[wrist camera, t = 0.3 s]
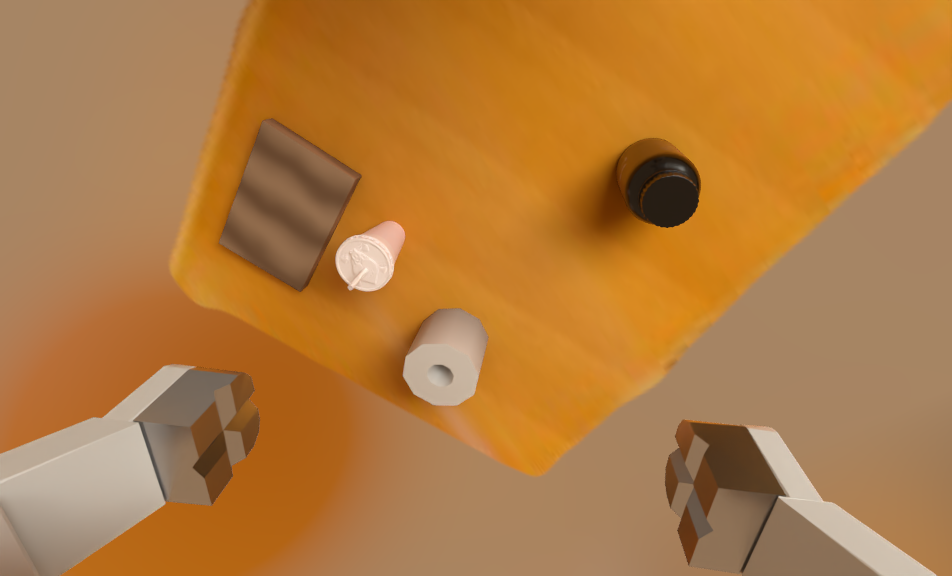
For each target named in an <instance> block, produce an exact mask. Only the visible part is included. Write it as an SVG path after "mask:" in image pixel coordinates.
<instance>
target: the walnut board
mask: <svg viewBox="0 0 952 576" xmlns="http://www.w3.org/2000/svg"><path fill="white" fill-rule="evenodd" d="M361 176H362V175H360V174H358V173H357V172H355V171H354V170H352V169H351V168H349V167H348V166H346V165H344V164H343V163H341V162H340V161H338V160H337V159H335V158H333V157H332V156H330V155H329V154H327V153H326V152H324V151H322V150H321V149H319V148H318V147H316V146H315V145H313V144H312V143H310V142H308V141H307V140H305V139H304V138H302V137H301V136H299V135H297V134H296V133H294V132H293V131H291V130H290V129H288V128H287V127H285V126H283V125H282V124H280V123H279V122H277V121H276V120H274V119H272V118H271V119H267V120H263V121H262V124H261V127H260V130H259V133H258V135H257V138H256V141H255V144H254V146H253V149H252V152H251V155H250V158H249V160H248V163H247V166H246V169H245V171H244V174H243V177H242V180H241V183H240V185H239V188H238V191H237V194H236V197H235V199H234V202H233V205H232V208H231V210H230V213H229V216H228V219H227V222H226V224H225V227H224V230H223V233H222V236H221V238H220V241H219V244H221V245H223V246H224V247H226V248H228V249H229V250H231V251H233V252H234V253H236V254H238V255H239V256H241V257H243V258H244V259H246V260H248V261H250V262H251V263H253V264H255V265H256V266H258V267H260V268H261V269H263V270H265V271H266V272H268V273H270V274H271V275H273V276H275V277H276V278H278V279H280V280H281V281H283V282H285V283H286V284H288V285H290V286H291V287H293V288H295V289H296V290H298V291H300V292H301V291H302V290H303V289H304V288H305V287H306V286H307V285H308V283H309V281H310V279H311V277H312V275H313V273H314V271H315V269H316V267H317V265H318V263H319V261H320V259H321V257H322V255H323V253H324V251H325V249H326V247H327V245H328V243H329V241H330V239H331V237H332V235H333V233H334V231H335V229H336V227H337V224H338V222H339V220H340V218H341V216H342V214H343V212H344V210H345V208H346V206H347V204H348V202H349V200H350V198H351V196H352V194H353V192H354V190H355V188H356V186H357V184H358V182H359V180H360V178H361Z"/></svg>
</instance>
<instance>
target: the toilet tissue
mask: <svg viewBox="0 0 952 576" xmlns="http://www.w3.org/2000/svg"><path fill="white" fill-rule="evenodd" d="M487 341H488V335H487V333H486V331H485V330H484V328H483V326H482V324H481V322H480V320H479V319H478V318H476V317H474V316H473V315H471V314H469V313H467V312H465V311H464V310H462V309H438V310H437V311H436V312H434V313H433V314H432V315H431V316H429V317H428V318H427V319H425V320H424V321H423V323H422V325H421V327H420V329H419V331H418V333H417V335H416V337H415V339H414V341H413V343H412V345H411V347H410V349H409V351H408V353H407V355H406V358H405V364H404V371H403V377H404V379H405V380H406V382H407V384H408V385H409V387H410V389H411V390H412V392H413V394H414V395H416V396H418V397H420V398H422V399H424V400H425V401H427V402H429V403H431V404H432V405H459V404H460V403H462V402H463V401H465V400H466V399H468V398H469V397H471V396H473V395H474V393H475V389H476V385H477V381H478V377H479V373H480V369H481V365H482V361H483V357H484V353H485V349H486V345H487Z"/></svg>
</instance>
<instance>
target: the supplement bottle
mask: <svg viewBox="0 0 952 576" xmlns="http://www.w3.org/2000/svg"><path fill="white" fill-rule="evenodd" d="M616 177H617V182H618V185H619V188H620V190H621V193H622V195H623V198H624V200H625V203H626V205H627V207H628V209H629V210H630V212H631V213H632V214H633V215H634V216H635V217H636V218H638V219H639V220H641V221H643V222H645V223H648V224H654V225H656V226H660V227H666V228H668V227H674V226H678V225H680V224H682V223H684V222H685V221H687V220H688V219H689V218H690V217H691V216H692V215H693V213H694V212H695V211H696V208H697V207H698V202H699V199H698V198H699V195H700V190H701V180H700V175H699V173H698V171H697V169H696V167H695V166H694V164H693V163H692V162H691V161H690V160H689V159H688V158H687V157H685V156H684V155H683V154H682V153H681V152H680V151H679V150H678V149H677V148H676V147H675V146H674V145H672V144H671V143H669V142H668V141H665V140H662V139H658V138H648V139H643V140H640V141H638V142H636V143H634V144H632V145H631V146H630V147H629V148H627V149H626V151H625V152H624V153H623V154H622V156H621V157H620V159H619V162H618V165H617V169H616Z"/></svg>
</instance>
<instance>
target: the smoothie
mask: <svg viewBox="0 0 952 576" xmlns="http://www.w3.org/2000/svg"><path fill="white" fill-rule="evenodd" d="M404 241H405V232H404V230H403V228H402V227H401V226H400V225H399V224H398V223H396V222H393V221H385V222H383V223H381V224H379V225H377V226H375V227H374V228H372V229H370V230H368V231H366V232H365V233H363V234H361V235H355V236H352V237H350V238H348V239H347V240H345V241H344V242H343V243H342V245H341V246H340V247H339V249H338V250H337V253H336V258H335V262H336V268H337V270H338V273H339V274H340V276H341V278H342V279H343V280H344V281H345V282H346V283H347V284H348V285H349V286H348V289H349V290H352V289H353V288H355V289H358V290H361V291H375V290H378V289H380V288H382V287H383V286H384V285H386V283H387V282H388V281H389V280H390V279H391V277H392V275H393V272H394V264H395V261H396V259H397V257H398V255H399V252H400V250H401V248H402V245H403V243H404Z"/></svg>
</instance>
